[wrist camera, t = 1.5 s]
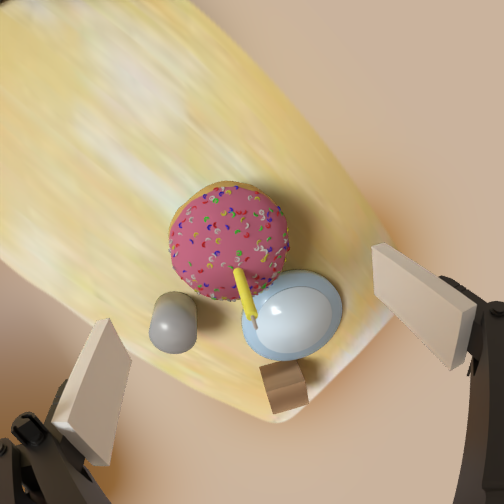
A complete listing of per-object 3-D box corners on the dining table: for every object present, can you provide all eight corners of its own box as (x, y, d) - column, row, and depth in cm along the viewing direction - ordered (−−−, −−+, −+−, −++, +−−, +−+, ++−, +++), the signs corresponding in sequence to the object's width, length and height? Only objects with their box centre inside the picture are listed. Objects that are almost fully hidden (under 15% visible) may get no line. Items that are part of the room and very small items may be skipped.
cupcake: (287, 252, 27) (341, 328, 16) (198, 287, 27) (199, 382, 16) (255, 160, 24) (300, 178, 13) (157, 199, 24) (120, 250, 13)
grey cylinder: (148, 297, 27) (141, 321, 23) (189, 286, 27) (187, 309, 23) (163, 331, 28) (159, 357, 25) (202, 322, 29) (202, 348, 25)
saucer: (229, 286, 28) (230, 292, 26) (333, 257, 28) (338, 261, 27) (253, 365, 31) (255, 372, 30) (341, 338, 32) (345, 344, 31)
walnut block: (259, 366, 32) (266, 392, 28) (294, 356, 32) (305, 380, 28) (266, 389, 33) (273, 414, 29) (299, 379, 33) (309, 403, 30)
